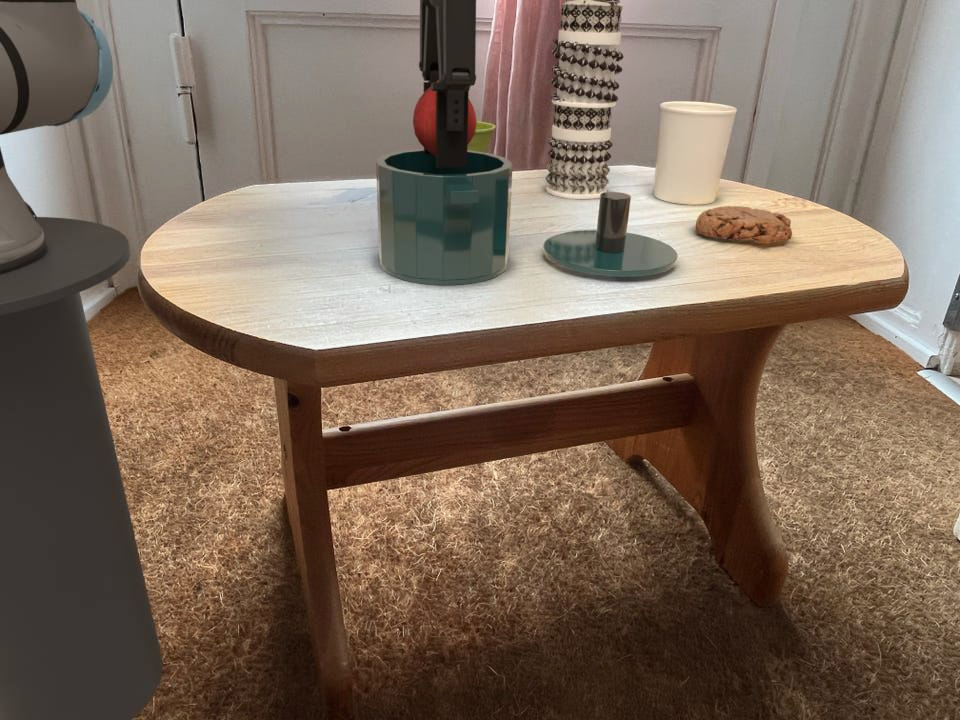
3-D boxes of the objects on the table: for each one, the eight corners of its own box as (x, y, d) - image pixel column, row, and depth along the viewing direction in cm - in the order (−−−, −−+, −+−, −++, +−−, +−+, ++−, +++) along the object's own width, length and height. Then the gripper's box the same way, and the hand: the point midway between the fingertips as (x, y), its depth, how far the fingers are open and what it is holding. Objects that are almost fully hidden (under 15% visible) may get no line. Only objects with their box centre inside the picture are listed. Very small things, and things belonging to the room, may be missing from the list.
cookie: (680, 225, 88) (684, 200, 87) (759, 222, 91) (764, 198, 89) (721, 250, 80) (726, 223, 78) (808, 247, 82) (814, 220, 81)
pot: (392, 299, 64) (389, 184, 60) (371, 239, 80) (367, 144, 75) (530, 291, 67) (537, 181, 62) (483, 234, 83) (486, 143, 78)
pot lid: (568, 286, 68) (574, 215, 65) (526, 243, 80) (530, 181, 77) (700, 278, 71) (712, 210, 68) (641, 238, 83) (649, 178, 80)
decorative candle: (529, 188, 103) (540, -11, 92) (576, 181, 108) (592, -9, 97) (574, 202, 97) (592, -10, 86) (622, 194, 102) (645, -8, 91)
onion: (403, 165, 67) (401, 72, 64) (427, 154, 72) (426, 67, 69) (463, 171, 66) (465, 76, 62) (483, 160, 71) (486, 71, 67)
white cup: (721, 193, 104) (736, 104, 99) (720, 209, 96) (738, 113, 91) (651, 186, 107) (662, 99, 101) (644, 202, 98) (657, 108, 93)
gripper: (525, -151, 51) (509, 181, 61) (467, -117, 68) (462, 141, 78) (418, -160, 50) (421, 184, 60) (385, -122, 66) (391, 142, 76)
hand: (444, 159), depth 69 cm, fingers closed on onion, 6 cm apart
